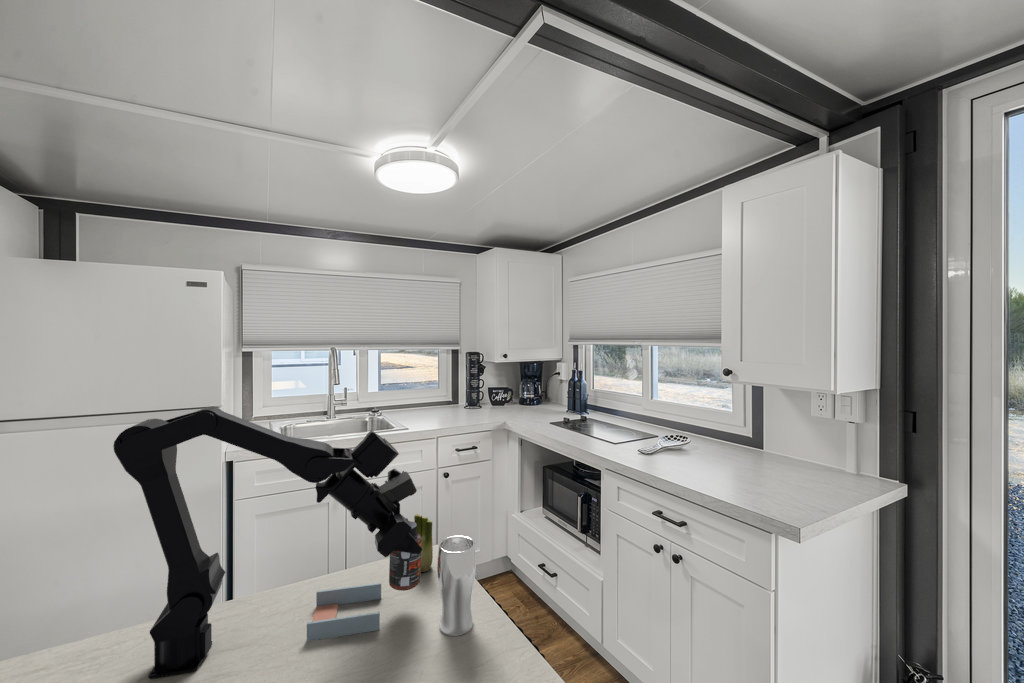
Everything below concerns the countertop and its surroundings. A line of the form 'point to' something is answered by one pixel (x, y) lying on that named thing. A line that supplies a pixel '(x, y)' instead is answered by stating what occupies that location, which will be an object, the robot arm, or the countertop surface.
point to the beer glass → (456, 583)
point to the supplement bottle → (405, 566)
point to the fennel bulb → (425, 541)
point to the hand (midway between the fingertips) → (416, 544)
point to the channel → (331, 626)
